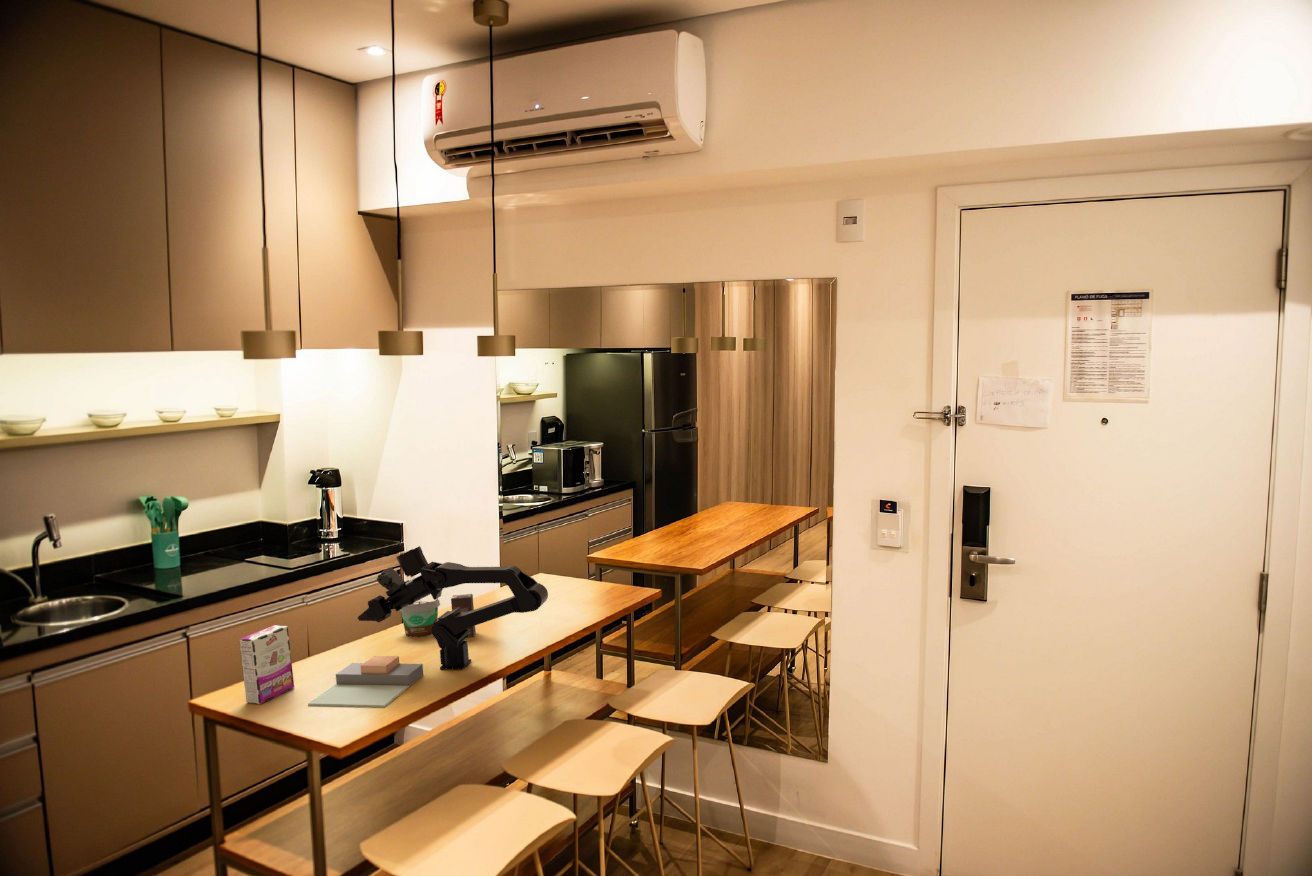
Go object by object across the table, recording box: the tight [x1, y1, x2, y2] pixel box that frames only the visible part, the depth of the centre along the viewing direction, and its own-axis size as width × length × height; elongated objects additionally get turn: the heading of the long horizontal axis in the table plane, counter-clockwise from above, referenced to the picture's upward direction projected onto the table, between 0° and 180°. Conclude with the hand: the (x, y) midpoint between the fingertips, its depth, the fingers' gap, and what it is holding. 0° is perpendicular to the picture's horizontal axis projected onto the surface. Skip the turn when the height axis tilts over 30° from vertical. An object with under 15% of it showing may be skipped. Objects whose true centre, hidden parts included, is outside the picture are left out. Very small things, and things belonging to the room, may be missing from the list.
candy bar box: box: [238, 624, 295, 705], centre depth 208 cm, size 11×5×16 cm, turn 158°
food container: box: [398, 598, 441, 638], centre depth 251 cm, size 12×6×10 cm, turn 105°
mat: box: [307, 683, 409, 708], centre depth 205 cm, size 20×12×1 cm, turn 80°
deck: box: [335, 662, 424, 688], centre depth 215 cm, size 20×8×3 cm, turn 80°
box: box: [450, 593, 476, 637], centre depth 248 cm, size 6×4×12 cm
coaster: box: [360, 655, 400, 673], centre depth 215 cm, size 7×7×2 cm
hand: (367, 614), depth 226 cm, fingers open, 9 cm apart
